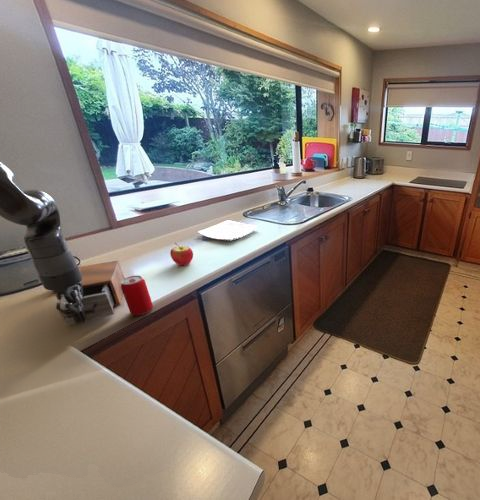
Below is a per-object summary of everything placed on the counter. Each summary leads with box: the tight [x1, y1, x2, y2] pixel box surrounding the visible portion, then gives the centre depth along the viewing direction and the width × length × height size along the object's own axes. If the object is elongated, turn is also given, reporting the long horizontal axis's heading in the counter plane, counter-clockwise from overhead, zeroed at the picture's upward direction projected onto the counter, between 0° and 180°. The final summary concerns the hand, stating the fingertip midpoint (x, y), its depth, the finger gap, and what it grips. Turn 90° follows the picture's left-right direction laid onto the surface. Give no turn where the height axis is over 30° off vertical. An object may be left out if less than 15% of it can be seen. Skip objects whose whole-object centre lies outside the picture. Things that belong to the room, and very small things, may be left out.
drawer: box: [55, 283, 115, 326], centre depth 89 cm, size 19×11×8 cm, turn 30°
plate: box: [197, 219, 259, 242], centre depth 155 cm, size 24×24×3 cm
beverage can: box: [121, 275, 154, 316], centre depth 90 cm, size 6×6×12 cm
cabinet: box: [78, 260, 126, 307], centre depth 96 cm, size 16×13×10 cm
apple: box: [169, 242, 194, 266], centre depth 121 cm, size 8×8×10 cm
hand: (81, 320), depth 80 cm, fingers closed
